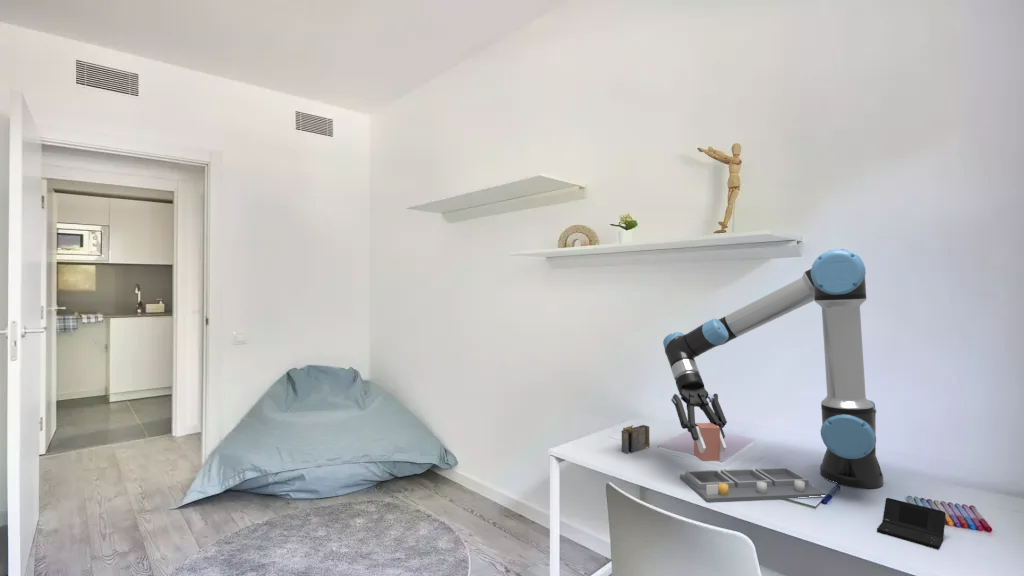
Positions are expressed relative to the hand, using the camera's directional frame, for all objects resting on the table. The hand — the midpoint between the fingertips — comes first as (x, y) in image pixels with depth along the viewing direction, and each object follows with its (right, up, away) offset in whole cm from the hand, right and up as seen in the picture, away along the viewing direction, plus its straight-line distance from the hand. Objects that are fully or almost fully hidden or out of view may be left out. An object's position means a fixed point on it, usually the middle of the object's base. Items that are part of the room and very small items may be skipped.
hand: (713, 450), depth 140 cm
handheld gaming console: (+34, -11, -25) cm, 44 cm away
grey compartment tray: (+11, -11, +2) cm, 16 cm away
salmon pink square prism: (0, -3, +4) cm, 5 cm away
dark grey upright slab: (-12, -12, +35) cm, 39 cm away
